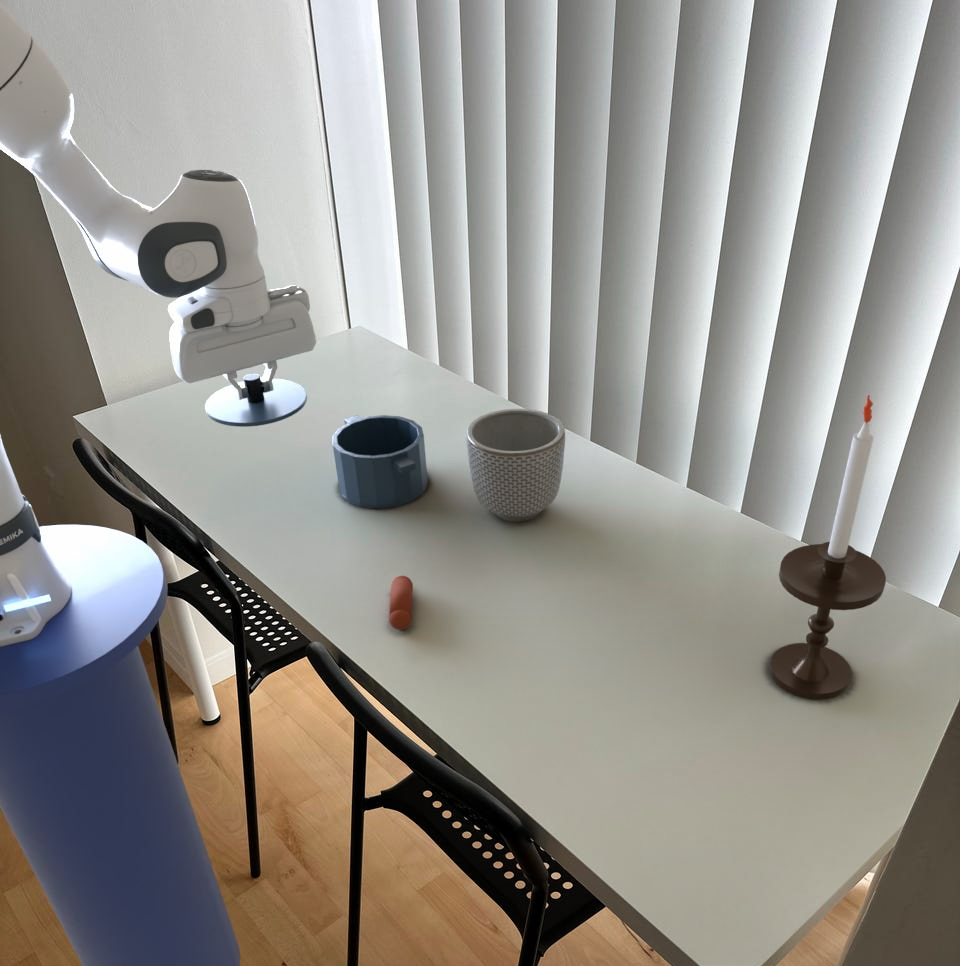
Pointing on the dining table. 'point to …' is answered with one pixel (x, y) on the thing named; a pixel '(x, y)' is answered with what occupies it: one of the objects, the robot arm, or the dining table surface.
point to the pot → (380, 461)
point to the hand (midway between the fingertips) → (254, 394)
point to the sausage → (401, 603)
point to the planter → (516, 461)
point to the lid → (256, 403)
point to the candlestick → (829, 588)
